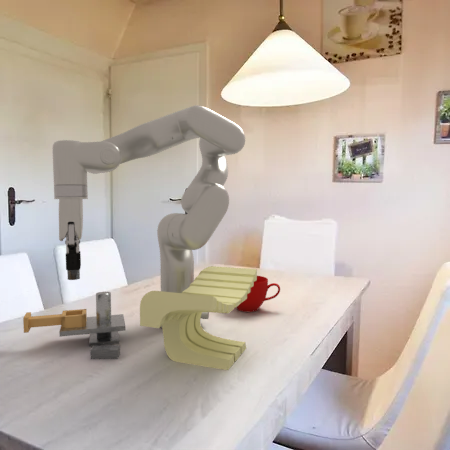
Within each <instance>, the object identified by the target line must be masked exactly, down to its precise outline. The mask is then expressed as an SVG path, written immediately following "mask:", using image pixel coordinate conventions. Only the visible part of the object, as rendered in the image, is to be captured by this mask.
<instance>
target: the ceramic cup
mask: <svg viewBox="0 0 450 450" xmlns="http://www.w3.org/2000/svg"><path fill="white" fill-rule="evenodd" d="M273 286H274V287H277V291H276V293H275V294H274V295H272V296H269V297H267V292H268V290H269V289H270V288H271V287H273ZM280 292H281V287H280V285H279V284H278V283H276V282H274V283H270V284H269V280H268V277H265V276H263V275H262V276H261V275H257V280H256V281H255V282H254V286H253V287H252V288H251V287H250V293H249V294H247V299H246V300H245V301H243V302H241V304H240V305H238V306H237V307H236V309H237V310H238V311H240V312H244V313H246V312H247V313H252V312H256V311H258V309H260V307H262V305H263V303H264V302H266V301H270V300H272V299H275V298H276V297H277V296H278V295H279V294H280Z"/></svg>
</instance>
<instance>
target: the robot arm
mask: <svg viewBox="0 0 450 450" xmlns="http://www.w3.org/2000/svg"><path fill="white" fill-rule="evenodd" d="M195 139H199V143H198V145H199V149H200V150H199V151H200V154H201V159H202V162H201V165H200V166H201V167H200V168H199V170H198V172H197V174H196V175H195V176H194V178H193V179H192V180H191V183H189V185H188V187H187V188H186V189H185V191H184V192H183V194H182V197H181V200H180V205H181V208H182V210H183V211H184V212H185V213H178V212H173V213H169V214H166V215H165V216H164V217H162V218H161V219H160V221H159V223H158V225H157V230H156V231H157V241H158V248H159V255H160V256H159V257H160V258H159V259H160V260H159V262H160V269H159V270H160V291H163V292H174V293H182V292H183V291H184V290H186V289H187V288H189V286H190V284H191V283H192V282H194V280H195V261H194V260H195V258H194V252H193V251H196V250H199V249H201V248H203V247H204V246H205V245H206V244H207V243H208V242H209V240H210V239H211V238H212V236H213V234H214V233H215V231H216V230H217V228H218V227H219V225H220V224H221V222H222V220H223V219H224V217H225V216H226V213H227V211H228V209H229V205H230V197H229V196H230V195H229V193H228V190H227V189H226V188H225V187H224V185H225V184H226V181H227V179H228V177H229V167H228V166H229V165H228V161H227V158H226V156H229V155H230V156H232V155H235V154H238V153H239V152H241V151H242V150H243V149H244V147H245V144H246V135H245V132H244V130H243V129H242V127H241V126H239V125H238V124H237V123H235V122H234V121H232V120H230V119H228V118H226V117H225V116H222V115H221V114H219V113H217V112H215V111H214V110H211V109H210V108H208V107H205V106H202V105H196V104H195V105H192V106H189V107H186V108H184V109H181V110H178V111H175V112H173V113H169V114H167V115H164V116H161V117H159V118H155V119H153V120H149V121H147V122H144V123H141V124H139V125H137V126H134V127H132V128H130V129H129V130H127V131H125V132H122V133H120V134H116V135H114V136H111V137H109V138H106V139H104V140H100V141H88V142H87V141H79V140H72V139H71V140H70V139H68V140H67V139H63V140H56V141H54V142H53V144H52V171H53V197H54V200H58V240H59V241H60V242H63V241H64V240H65V241H66V244H65V251H66V252H65V271H67V270H80V271H81V266H82V264H81V262H82V258H81V257H82V255H81V250H80V244H79V243H78V242H79V241H78V240H80V241H81V239H82V236H83V229H84V224H83V223H84V206H83V205H84V204H83V203H84V202H83V200H88V198H89V197H88V195H89V194H88V173H90V174H93V175H95V174H96V175H97V174H104V173H110V172H112V171H113V172H114V171H115V170H117V169H118V167H120V165H121V164H125V163H128V162H130V161H133V160H138V159H143V158H148V157H151V156H154V155H158V154H160V153H162V152H164V151H166V150H169V149H171V148H173V147H176V146H179V145H182V144H183V143H185V142H188V141H191V140H195ZM209 313H210V312H202V314H201V320H209V317H210V314H209ZM160 328H161V329H162V326H161V327H160Z"/></svg>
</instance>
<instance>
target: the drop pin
mask: <svg viewBox="0 0 450 450" xmlns="http://www.w3.org/2000/svg"><path fill="white" fill-rule="evenodd" d="M78 241H79V242H78V243H79V245H80V244H81V239H80V240H78ZM64 243H65V245H66V240H65V241H64ZM66 271H67V280H69V281H77V280H80V279H81V274H80V272H81V269H80V270H66Z"/></svg>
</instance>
